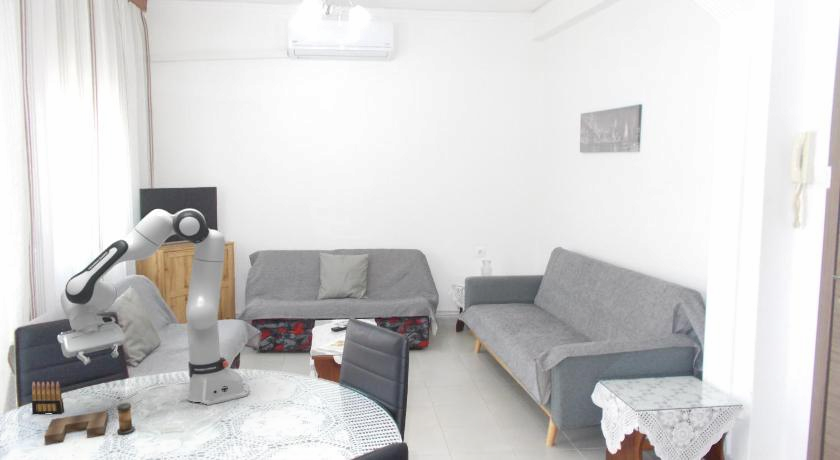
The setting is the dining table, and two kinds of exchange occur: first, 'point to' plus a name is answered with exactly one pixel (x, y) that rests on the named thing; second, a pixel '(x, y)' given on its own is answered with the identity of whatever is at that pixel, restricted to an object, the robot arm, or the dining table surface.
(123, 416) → the bobbin
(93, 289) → the robot arm
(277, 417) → the dining table surface
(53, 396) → the ammunition clip
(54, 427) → the notched board
